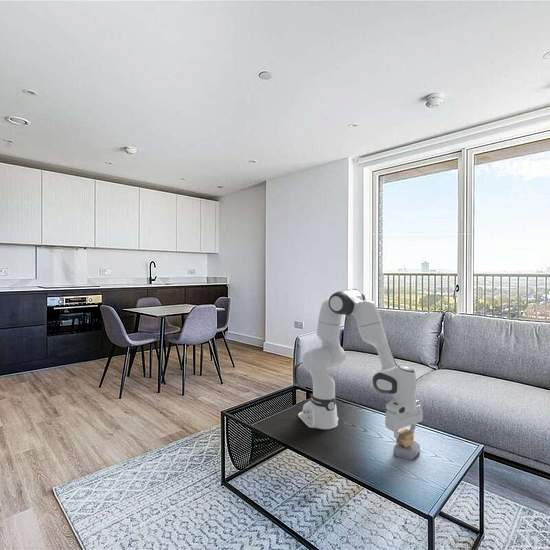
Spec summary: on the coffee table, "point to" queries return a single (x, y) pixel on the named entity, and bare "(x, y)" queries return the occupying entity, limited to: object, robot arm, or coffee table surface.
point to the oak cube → (405, 437)
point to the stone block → (407, 450)
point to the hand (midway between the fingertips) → (404, 435)
